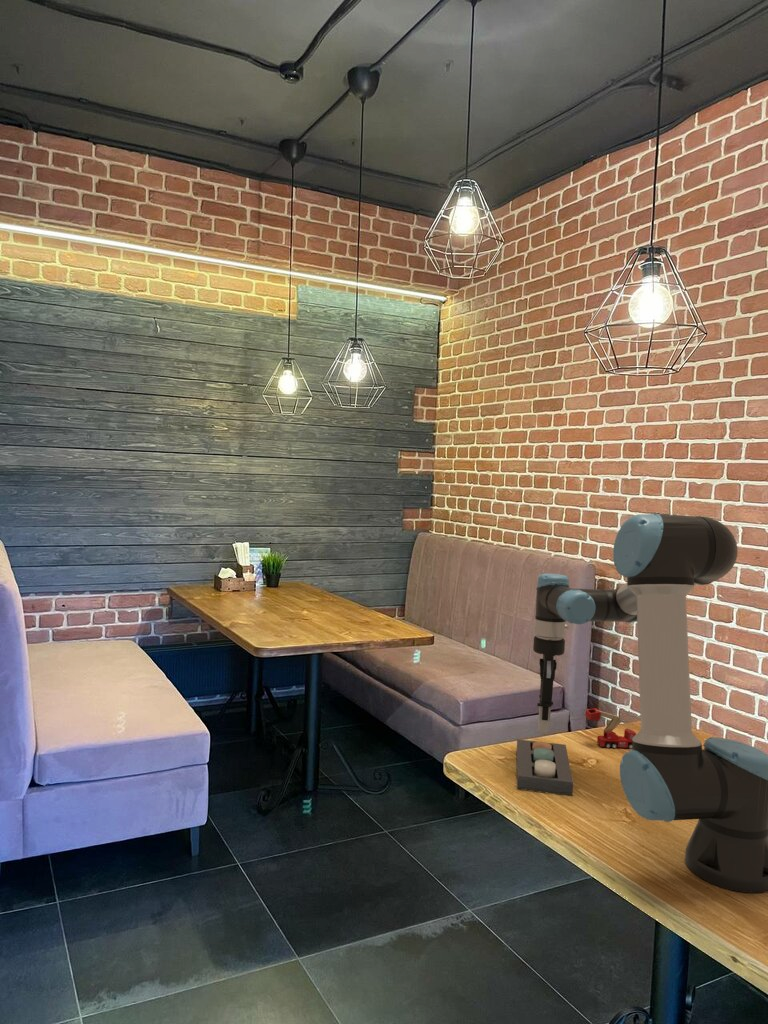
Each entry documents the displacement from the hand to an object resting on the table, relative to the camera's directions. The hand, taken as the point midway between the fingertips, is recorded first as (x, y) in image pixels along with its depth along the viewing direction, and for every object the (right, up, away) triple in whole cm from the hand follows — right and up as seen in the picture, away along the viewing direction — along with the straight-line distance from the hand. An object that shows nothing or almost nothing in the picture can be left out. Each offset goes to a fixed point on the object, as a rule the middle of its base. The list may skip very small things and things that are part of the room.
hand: (543, 731), depth 187 cm
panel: (-2, -7, -7) cm, 10 cm away
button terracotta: (0, -6, +1) cm, 7 cm away
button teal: (-2, -5, -7) cm, 9 cm away
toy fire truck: (+20, -8, +13) cm, 25 cm away
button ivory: (-3, -6, -15) cm, 16 cm away
